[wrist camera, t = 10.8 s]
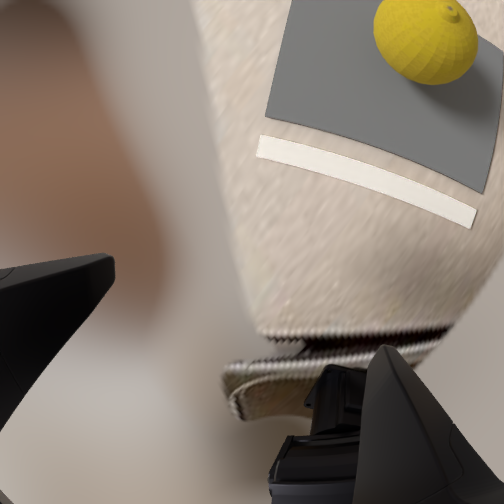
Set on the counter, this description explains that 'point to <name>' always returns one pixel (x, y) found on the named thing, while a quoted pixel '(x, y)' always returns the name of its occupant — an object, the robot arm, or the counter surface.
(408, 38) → the lemon
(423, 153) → the mat
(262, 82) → the counter surface
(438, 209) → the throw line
